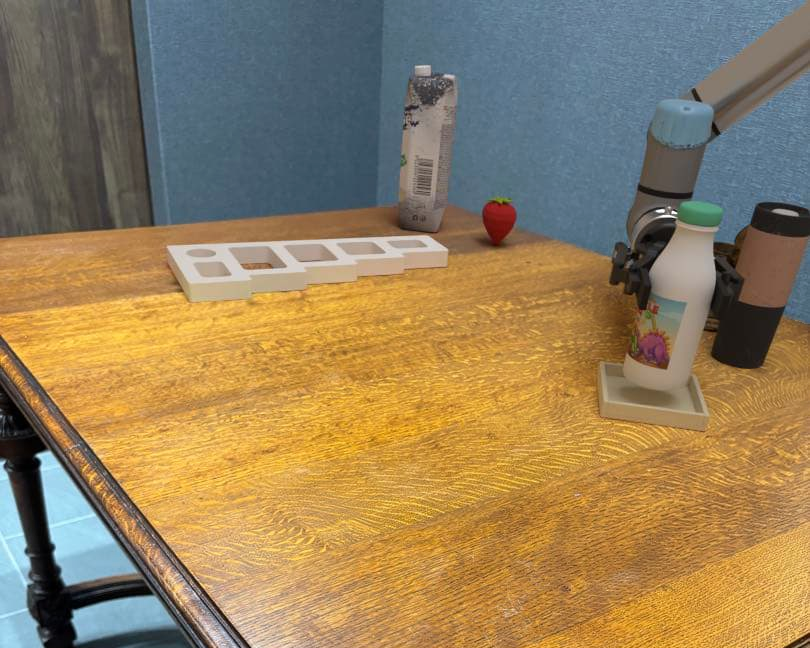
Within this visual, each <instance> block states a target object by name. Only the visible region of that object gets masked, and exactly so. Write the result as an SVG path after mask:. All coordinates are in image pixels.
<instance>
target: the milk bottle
mask: <svg viewBox="0 0 810 648" xmlns="http://www.w3.org/2000/svg"><path fill="white" fill-rule="evenodd" d="M723 216H724V209H723V208H722V207H721V206H719V205H716V204H713V203H710V202H706V201H705V202H704V201H697V200H691V201H686V202H682V203H681V204H680V206H679V209H678V213H677V220H676V221H675V224H676V230H675V232H674V234H673V236H672V238H671V240H670V242H669V243H668V245H667V246H666V248H665V249H664V250H663V252H662V253H661V254H660V256H659V257H658V258H657V260H656V261H655V263H654V264H653V266H652V268H651V270H650V272H649V278H650V281H651V285H652V288H651V292H650V296H649V300H648V303H647V307H646V311H644V310H639V309H638V308H637V311H636V315H635V320H634V323H633V326H632V330H631V335H630V338H629V342H628V346H627V350H626V354H625V357H624V362H623V364H624V366H623V373H624V376H625V377H626V378H627V379H628V380H629V381H631V382H633V383H634V384H637V385H639V386H642V387H645V388H648V389H653V390H659V391H674V390H679V389H681V388H682V387H684V386H685V384H686V383H687V381H688V378H689V375H690V373H691V371H692V369H693V366H694V362H695V359H696V354H697V352H698V348H699V346H700V343H701V339H702V336H703V334H704V333H703V332H704V330H703V329H704V326H705V323H706V319H707V316H708V313H709V309H710V306H711V302H712V298H713V294H714V289H715V282H716V271H715V263H714V255H713V242H714V239H715V235H716V232H718V231H719V229H720V228H719V227H720V224H721V222H722V220H723V219H722V218H723Z"/></svg>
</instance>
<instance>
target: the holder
mask: <svg viewBox="0 0 810 648" xmlns="http://www.w3.org/2000/svg"><path fill="white" fill-rule="evenodd" d="M449 251H450V250H449V249H448V248H447V247H445V246H444V245H442V244H441V243H440V242H438V241H437V240H435V239H434V238H433V237H431V236H429V235H427V234H423V235H422V234H421V235H399V236H398V235H397V236H395V235H393V236H374V237H373V236H372V237H348V238H347V237H346V238H326V239H325V238H324V239H323V238H322V239H300V240H298V239H297V240H277V241H276V240H275V241H251V242H250V241H249V242H248V241H247V242H227V243H222V242H221V243H200V244H176V245H175V244H173V245H166V254H167V265H168V266H169V268H170V270H171V272H172V273H173V275H174V277H175V278H176V280H177V282H178V283H179V285H180V287H181V289H182V291H183V292H184V294H185V296H186V298H187V299H188V301H189V302H190V303H206V302H222V301H236V300H237V301H238V300H250V299H253V294H260V293H261V294H263V293H274V292H276V293H277V292H292V291H306V290H307V289H308V285H322V284H323V285H324V284H337V283H353V282H357V281H358V277H371V276H388V275H390V276H391V275H404V273H405V270H413V269H414V270H415V269H432V268H446V267H448V260H449ZM250 264H251V265H252V264H269V265H270V266H271V267H272V268H260V269H259V268H258V269H257V268H256V269H246V268H244V267H243V266H242V265H250Z"/></svg>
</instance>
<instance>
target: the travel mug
mask: <svg viewBox="0 0 810 648" xmlns="http://www.w3.org/2000/svg"><path fill="white" fill-rule="evenodd" d="M749 224H750V225H749ZM749 224H748V225H749V228H748V231H747V234H746V237H745V240H744V243H743V247H742V250H741V253H740V256H739V259H738V262H737V265H736V268H735V270H736V271H737V272H738V273H739V274H740V275H741V276H742V277H743V278H744V279H745V282H744V285H743V288H742V291H741V294H740V297H739V300H738V301H731V303H730V305H729V306H728V307H727V310H726V313H725V317H724V320H723V321H720V322H719V326H718V329H717V331H716V333H715V336H714V340H713V343H712V347H711V351H710V352H711V353H710V354H711V356H712V358H714V359H715V360H716V361H718V362H720V363H722V364H725V365H728V366H731V367H735V368H741V369H756V368H757V369H758V368H760V367H762V366H763V364H764V363H765V361H766V358H767V355H768V353H769V350H770V348H771V346H772V343H773V340H774V338H775V335H776V332H777V330H778V327H779V325H780V323H781V319H782V317H783V315H784V312H785V310H786V307H787V305H788V303H789V302H788V301H789V299H790V296H791V293H792V290H793V287H794V284H795V281H796V279H797V275H798V273H799V270H800V267H801V264H802V262H803V258H804V256H805V253H806V249H807V246H808V243H809V241H810V209H809V208H808V207H804V206H801V205H797V204H793V203H785V202H778V201H761V202H757V203H756V205H755V207H754V210H753V213H752V216H751V219H750V222H749Z"/></svg>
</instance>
